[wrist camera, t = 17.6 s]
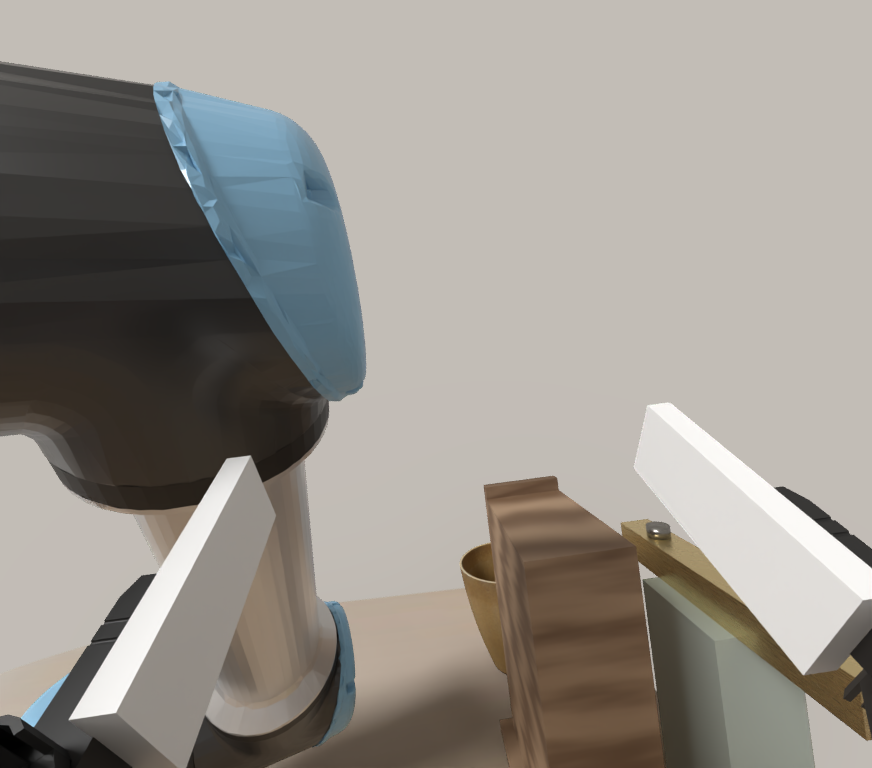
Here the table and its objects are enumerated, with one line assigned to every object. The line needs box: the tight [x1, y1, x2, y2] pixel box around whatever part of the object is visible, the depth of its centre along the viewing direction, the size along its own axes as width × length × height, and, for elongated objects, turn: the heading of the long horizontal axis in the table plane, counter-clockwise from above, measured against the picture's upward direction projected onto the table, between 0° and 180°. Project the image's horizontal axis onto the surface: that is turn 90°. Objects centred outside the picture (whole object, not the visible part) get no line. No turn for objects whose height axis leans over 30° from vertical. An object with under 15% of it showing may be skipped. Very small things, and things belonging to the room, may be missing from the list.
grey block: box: [643, 577, 815, 768], centre depth 36 cm, size 10×7×21 cm
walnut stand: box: [484, 476, 665, 768], centre depth 38 cm, size 20×12×32 cm, turn 2°
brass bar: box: [621, 519, 872, 741], centre depth 35 cm, size 26×4×5 cm, turn 2°
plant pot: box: [460, 543, 507, 674], centre depth 60 cm, size 15×15×16 cm
